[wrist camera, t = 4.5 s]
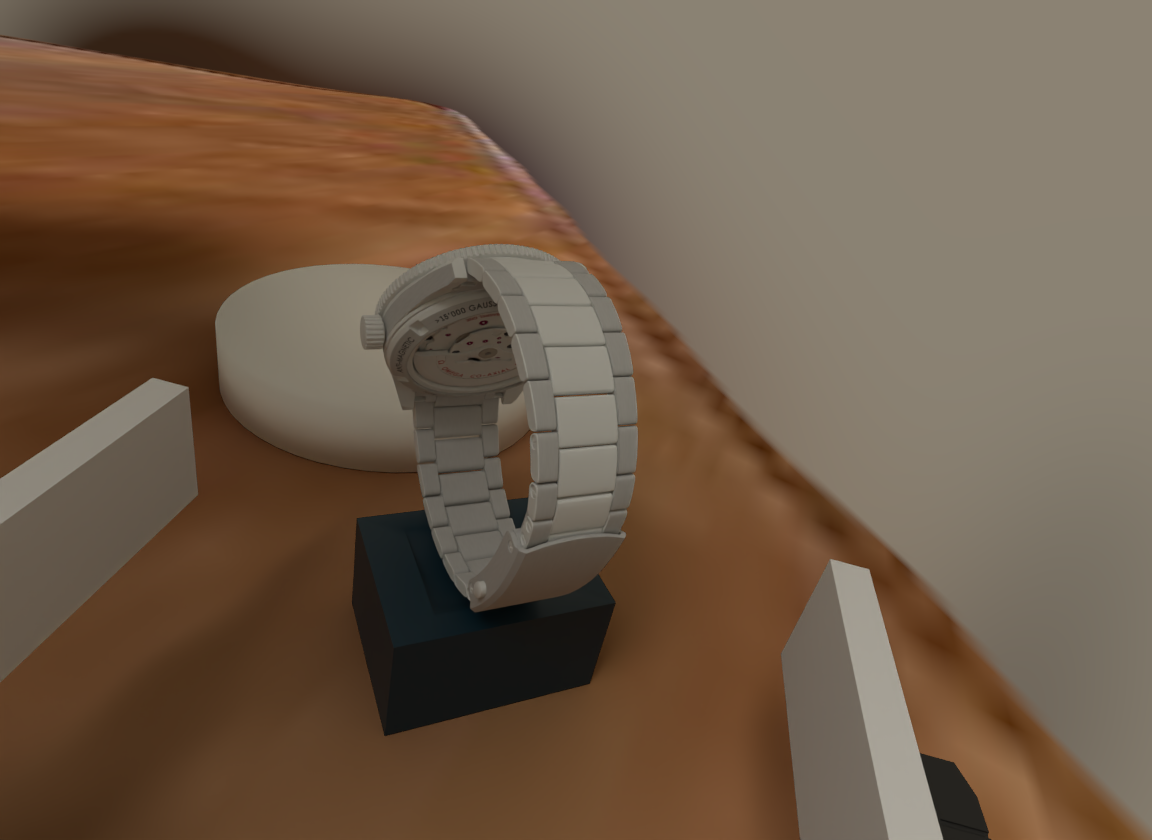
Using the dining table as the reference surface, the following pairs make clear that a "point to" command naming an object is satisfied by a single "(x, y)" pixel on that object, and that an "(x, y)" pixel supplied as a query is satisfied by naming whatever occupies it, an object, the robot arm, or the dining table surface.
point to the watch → (496, 485)
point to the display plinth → (322, 370)
